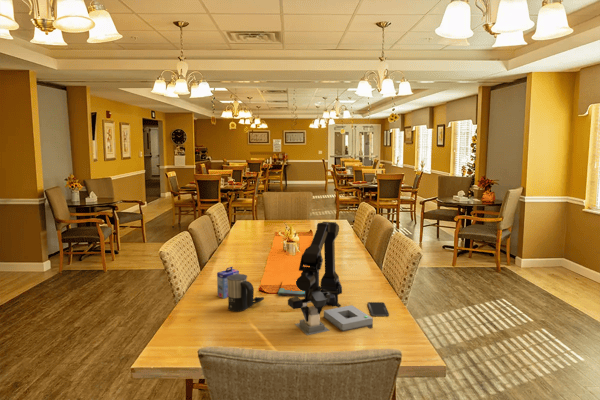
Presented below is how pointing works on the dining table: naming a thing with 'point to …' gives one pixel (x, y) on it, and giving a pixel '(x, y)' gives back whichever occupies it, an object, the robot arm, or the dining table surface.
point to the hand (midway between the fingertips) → (311, 320)
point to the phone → (378, 309)
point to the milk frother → (240, 293)
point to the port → (348, 318)
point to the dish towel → (290, 293)
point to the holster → (311, 328)
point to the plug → (313, 317)
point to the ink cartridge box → (224, 281)
